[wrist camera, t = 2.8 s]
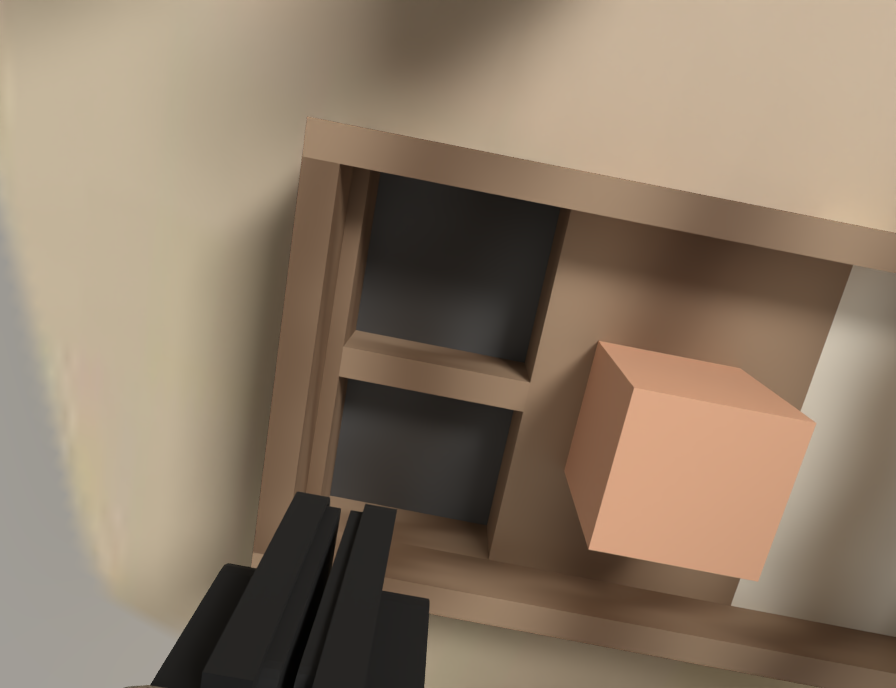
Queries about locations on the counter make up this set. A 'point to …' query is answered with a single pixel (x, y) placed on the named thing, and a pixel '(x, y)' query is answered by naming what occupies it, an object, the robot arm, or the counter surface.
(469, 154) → the box
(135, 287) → the counter surface
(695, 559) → the block
